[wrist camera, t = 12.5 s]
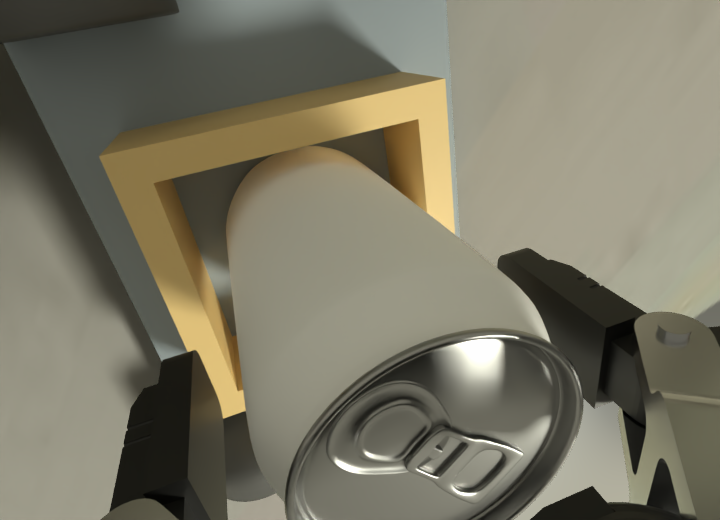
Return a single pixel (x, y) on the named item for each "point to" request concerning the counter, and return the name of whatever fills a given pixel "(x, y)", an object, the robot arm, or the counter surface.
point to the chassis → (226, 137)
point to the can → (386, 353)
